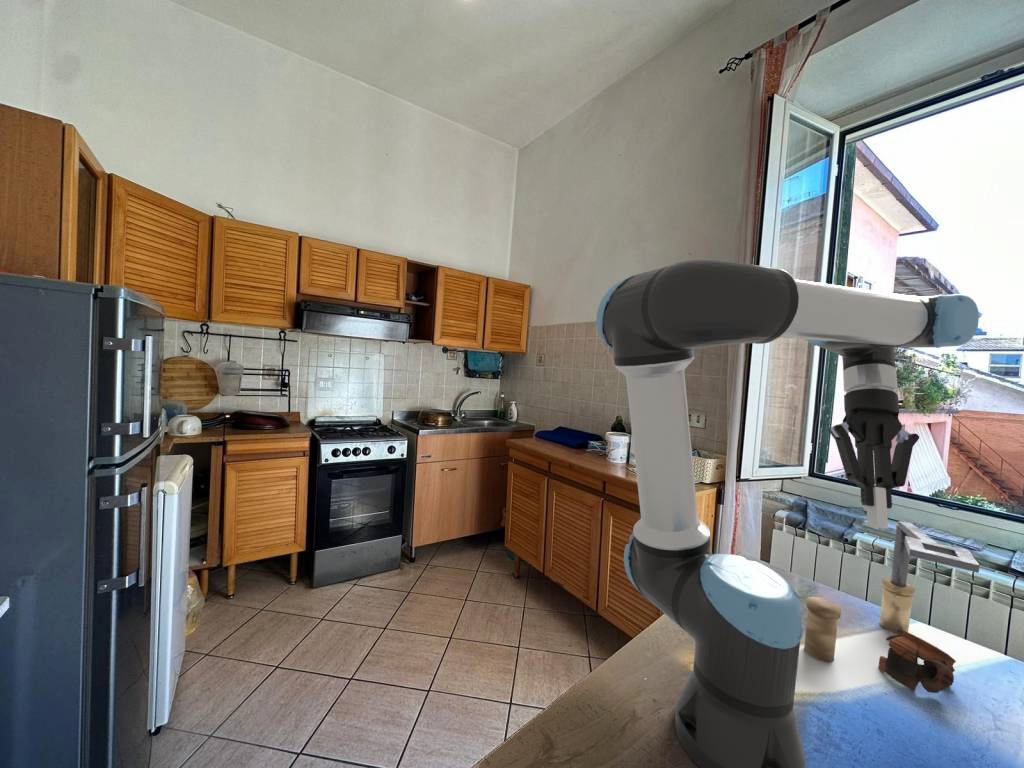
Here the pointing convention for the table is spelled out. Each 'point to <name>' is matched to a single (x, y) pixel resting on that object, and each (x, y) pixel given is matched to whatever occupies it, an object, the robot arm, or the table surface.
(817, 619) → the oak collar post
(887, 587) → the aperture bracket
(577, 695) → the table surface
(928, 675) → the broken brown pot
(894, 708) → the table surface
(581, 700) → the table surface
